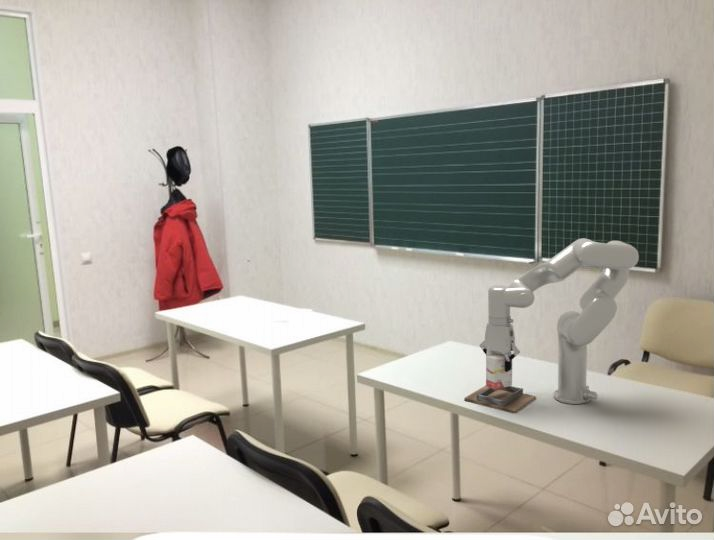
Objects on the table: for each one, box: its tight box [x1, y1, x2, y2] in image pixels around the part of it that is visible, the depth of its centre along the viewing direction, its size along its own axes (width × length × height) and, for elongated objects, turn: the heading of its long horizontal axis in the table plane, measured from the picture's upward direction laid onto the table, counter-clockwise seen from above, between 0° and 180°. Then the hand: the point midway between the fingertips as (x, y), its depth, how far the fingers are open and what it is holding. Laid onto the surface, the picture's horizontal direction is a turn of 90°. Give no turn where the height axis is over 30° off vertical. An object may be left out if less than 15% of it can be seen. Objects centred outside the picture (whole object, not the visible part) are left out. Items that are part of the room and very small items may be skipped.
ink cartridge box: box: [485, 347, 513, 390], centre depth 219 cm, size 9×5×15 cm, turn 120°
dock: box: [464, 384, 537, 414], centre depth 221 cm, size 20×16×3 cm
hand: (499, 368), depth 220 cm, fingers closed on ink cartridge box, 6 cm apart
